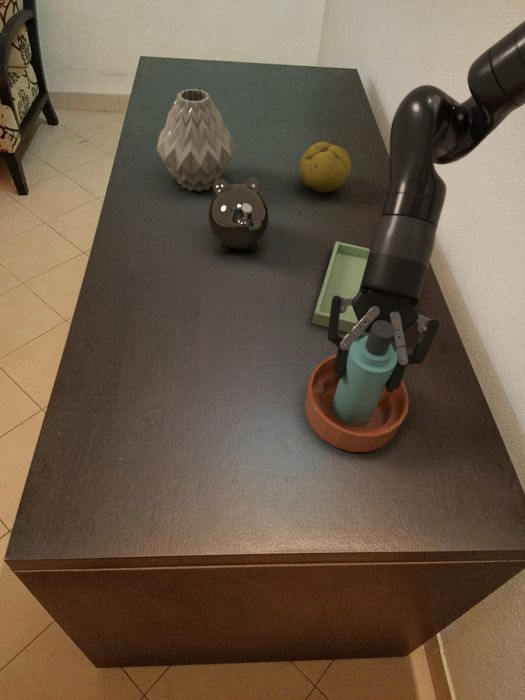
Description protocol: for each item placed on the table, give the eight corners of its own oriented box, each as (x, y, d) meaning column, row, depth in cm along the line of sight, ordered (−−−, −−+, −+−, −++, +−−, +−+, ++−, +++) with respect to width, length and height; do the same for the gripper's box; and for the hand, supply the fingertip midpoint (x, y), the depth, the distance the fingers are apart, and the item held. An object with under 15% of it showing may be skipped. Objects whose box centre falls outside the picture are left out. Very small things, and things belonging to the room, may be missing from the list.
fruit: (343, 176, 111) (352, 135, 103) (347, 205, 103) (357, 162, 96) (296, 173, 110) (302, 131, 103) (297, 201, 103) (303, 158, 95)
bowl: (402, 386, 73) (412, 366, 69) (393, 466, 64) (404, 448, 60) (314, 363, 75) (319, 342, 71) (294, 437, 66) (298, 419, 62)
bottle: (374, 397, 70) (411, 317, 57) (369, 431, 67) (406, 353, 53) (335, 387, 71) (362, 305, 58) (328, 419, 67) (354, 340, 54)
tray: (406, 268, 91) (410, 258, 89) (395, 344, 78) (400, 334, 76) (333, 251, 93) (336, 241, 91) (312, 323, 80) (314, 312, 78)
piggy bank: (259, 217, 98) (263, 166, 89) (271, 264, 89) (276, 212, 80) (206, 219, 97) (204, 167, 88) (212, 267, 87) (211, 215, 78)
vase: (177, 157, 111) (170, 72, 97) (242, 171, 109) (246, 87, 95) (148, 193, 101) (135, 104, 87) (219, 209, 99) (219, 121, 85)
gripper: (343, 241, 57) (308, 374, 58) (464, 268, 55) (424, 404, 57) (342, 249, 64) (311, 367, 66) (448, 274, 62) (413, 394, 64)
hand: (363, 384), depth 61 cm, fingers closed on bottle, 6 cm apart
